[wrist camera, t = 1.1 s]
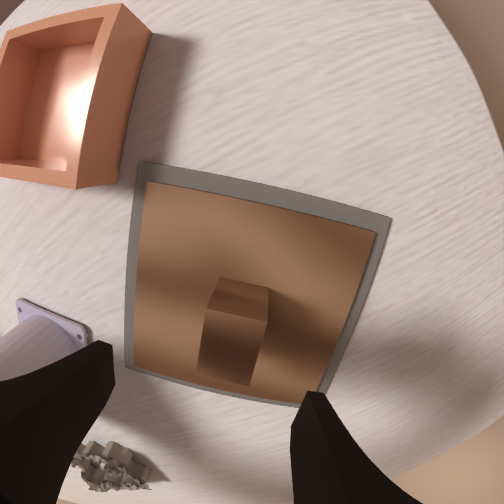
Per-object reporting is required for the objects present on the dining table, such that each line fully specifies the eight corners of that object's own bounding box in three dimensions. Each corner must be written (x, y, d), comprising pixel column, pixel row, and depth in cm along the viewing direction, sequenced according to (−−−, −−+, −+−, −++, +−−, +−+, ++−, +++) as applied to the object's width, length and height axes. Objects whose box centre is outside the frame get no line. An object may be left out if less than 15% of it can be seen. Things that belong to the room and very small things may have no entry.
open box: (117, 182, 17) (75, 189, 12) (16, 167, 17) (-25, 173, 12) (152, 32, 14) (122, 3, 10) (43, 45, 14) (6, 31, 10)
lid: (308, 399, 20) (313, 446, 16) (136, 361, 20) (111, 400, 16) (371, 230, 16) (403, 252, 12) (151, 180, 16) (112, 187, 12)
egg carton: (98, 469, 28) (87, 490, 24) (64, 434, 26) (50, 455, 22) (161, 476, 26) (152, 502, 22) (125, 439, 24) (111, 467, 20)
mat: (315, 406, 21) (316, 409, 20) (126, 364, 21) (125, 366, 20) (388, 217, 16) (391, 218, 16) (141, 161, 16) (139, 161, 16)
